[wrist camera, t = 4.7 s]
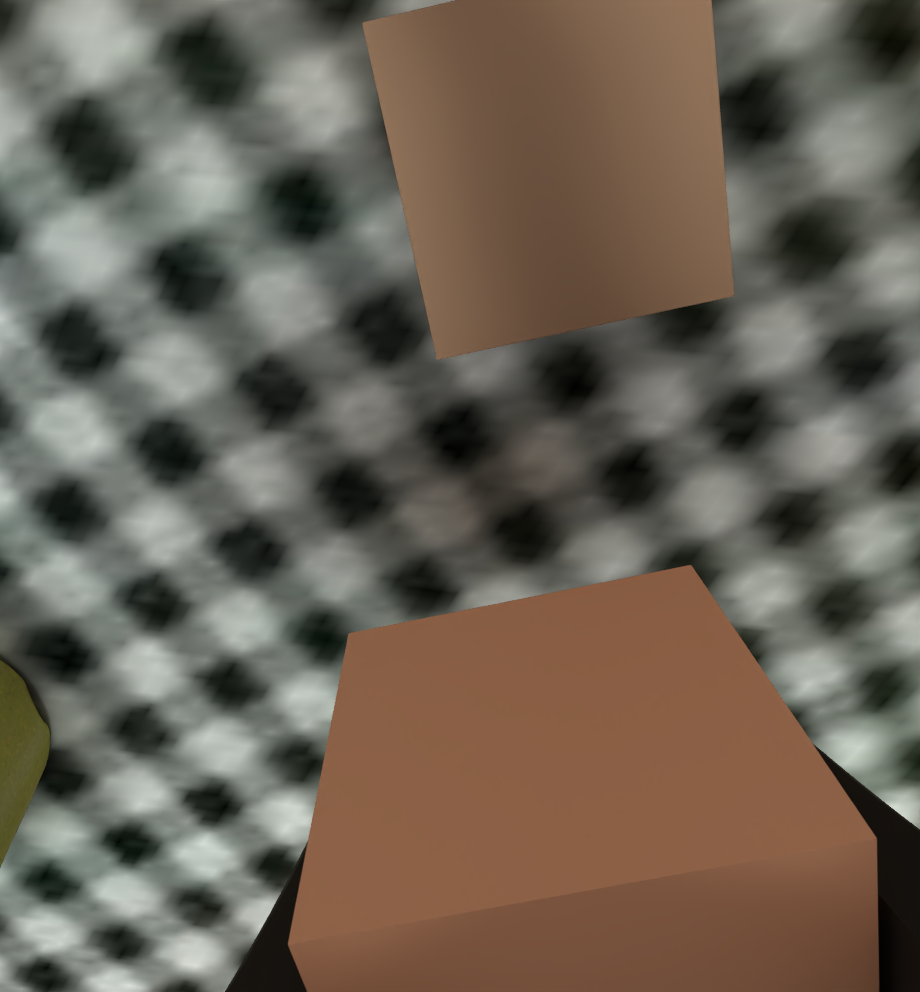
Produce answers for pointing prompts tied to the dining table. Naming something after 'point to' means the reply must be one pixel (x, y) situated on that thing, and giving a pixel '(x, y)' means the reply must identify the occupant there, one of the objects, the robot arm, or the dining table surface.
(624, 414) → the dining table surface
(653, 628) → the terracotta block
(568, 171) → the walnut block
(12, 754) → the plant pot
